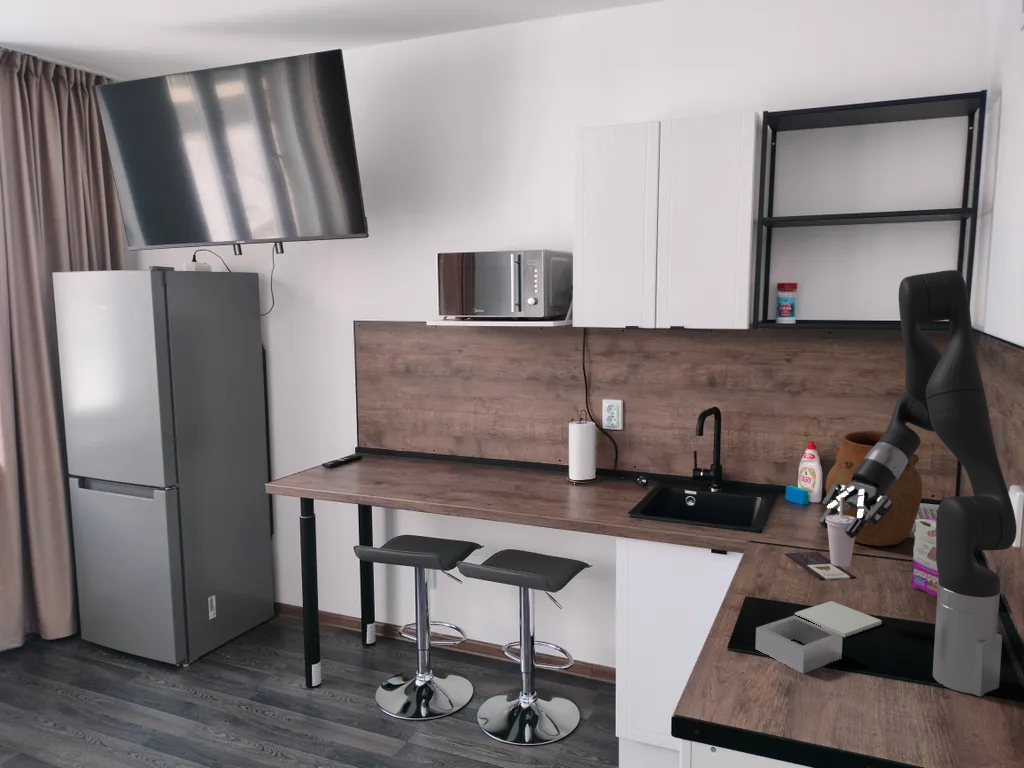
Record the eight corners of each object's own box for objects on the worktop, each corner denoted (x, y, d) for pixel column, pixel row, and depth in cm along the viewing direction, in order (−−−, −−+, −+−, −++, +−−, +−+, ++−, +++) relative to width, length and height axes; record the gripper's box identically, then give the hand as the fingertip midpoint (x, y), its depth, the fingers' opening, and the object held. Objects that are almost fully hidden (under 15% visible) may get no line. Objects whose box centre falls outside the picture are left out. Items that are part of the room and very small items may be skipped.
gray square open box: (841, 658, 143) (842, 635, 143) (802, 673, 138) (803, 649, 137) (793, 637, 153) (794, 615, 152) (755, 650, 147) (756, 627, 147)
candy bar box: (969, 601, 170) (973, 529, 168) (952, 604, 168) (956, 532, 166) (925, 584, 180) (929, 516, 179) (910, 587, 179) (913, 518, 177)
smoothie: (846, 557, 163) (849, 493, 161) (863, 568, 156) (866, 501, 155) (818, 559, 162) (820, 494, 160) (834, 569, 156) (836, 502, 154)
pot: (819, 546, 208) (823, 438, 205) (828, 523, 229) (832, 424, 226) (919, 560, 197) (925, 445, 193) (918, 534, 218) (924, 430, 215)
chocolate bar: (817, 552, 202) (855, 576, 184) (817, 555, 202) (855, 580, 184) (784, 553, 201) (819, 578, 183) (784, 557, 201) (819, 582, 183)
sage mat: (881, 624, 159) (881, 620, 158) (844, 637, 152) (844, 633, 152) (831, 604, 169) (831, 600, 169) (794, 616, 163) (794, 612, 163)
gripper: (844, 451, 166) (800, 510, 163) (901, 464, 153) (854, 529, 150) (861, 472, 169) (818, 531, 166) (918, 487, 156) (873, 551, 153)
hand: (835, 530), depth 158 cm, fingers closed on smoothie, 6 cm apart
